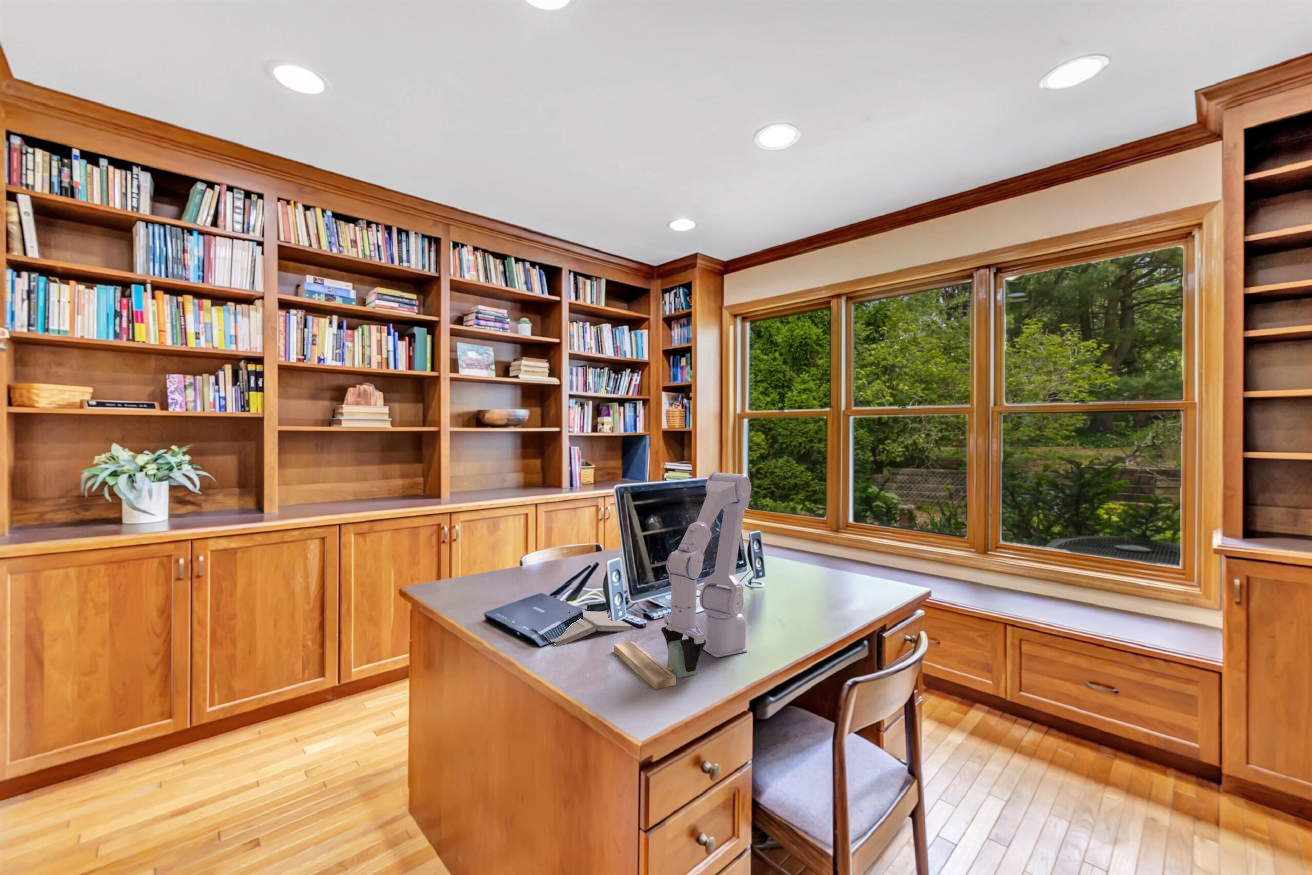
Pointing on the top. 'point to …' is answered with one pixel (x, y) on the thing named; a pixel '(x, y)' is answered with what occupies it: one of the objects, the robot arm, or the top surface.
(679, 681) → the top surface
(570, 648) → the top surface
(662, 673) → the plank
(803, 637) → the top surface
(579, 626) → the gadget
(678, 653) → the green box with tab
